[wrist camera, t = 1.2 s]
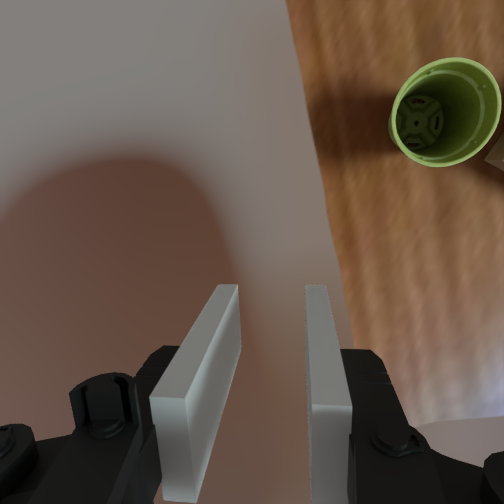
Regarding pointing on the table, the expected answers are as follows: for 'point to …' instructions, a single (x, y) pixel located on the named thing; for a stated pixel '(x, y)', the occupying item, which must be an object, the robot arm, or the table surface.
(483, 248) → the table surface
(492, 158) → the dock
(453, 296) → the table surface
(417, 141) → the plant pot
